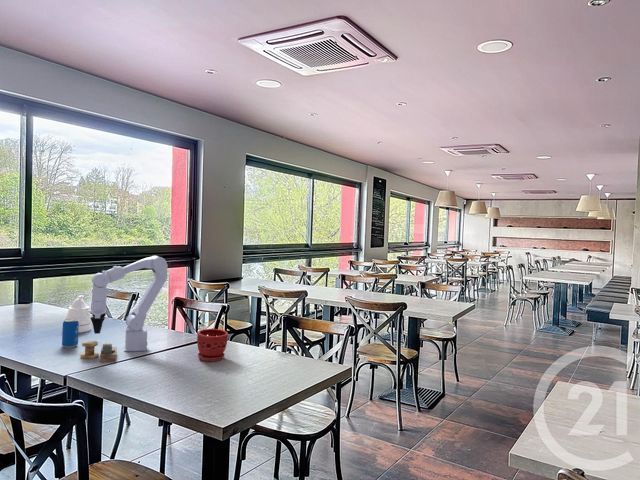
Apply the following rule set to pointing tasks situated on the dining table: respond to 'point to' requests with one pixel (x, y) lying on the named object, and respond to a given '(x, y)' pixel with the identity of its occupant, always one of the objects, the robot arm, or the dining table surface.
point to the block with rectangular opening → (108, 355)
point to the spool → (89, 350)
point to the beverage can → (70, 333)
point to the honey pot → (80, 314)
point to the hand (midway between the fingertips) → (97, 331)
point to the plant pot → (211, 344)
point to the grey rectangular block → (107, 348)
